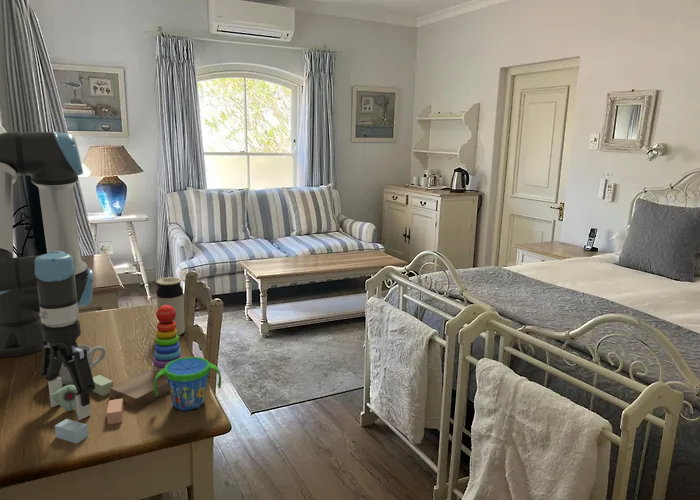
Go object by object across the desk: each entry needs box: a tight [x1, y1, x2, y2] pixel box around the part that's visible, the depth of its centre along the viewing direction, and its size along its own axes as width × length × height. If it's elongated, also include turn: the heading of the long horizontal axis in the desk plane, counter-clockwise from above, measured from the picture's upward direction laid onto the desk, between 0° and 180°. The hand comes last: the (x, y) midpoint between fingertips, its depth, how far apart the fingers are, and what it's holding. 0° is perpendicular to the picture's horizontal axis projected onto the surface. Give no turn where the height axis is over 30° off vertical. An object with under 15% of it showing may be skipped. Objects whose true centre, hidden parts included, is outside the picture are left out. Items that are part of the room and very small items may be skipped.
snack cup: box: [154, 356, 222, 411], centre depth 124 cm, size 16×10×10 cm
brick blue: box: [54, 418, 89, 445], centre depth 110 cm, size 6×3×3 cm, turn 69°
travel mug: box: [156, 276, 186, 337], centre depth 166 cm, size 8×8×18 cm
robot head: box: [49, 384, 77, 412], centre depth 120 cm, size 8×4×7 cm, turn 123°
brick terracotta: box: [106, 398, 125, 425], centre depth 118 cm, size 6×3×3 cm, turn 20°
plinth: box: [109, 369, 170, 409], centre depth 130 cm, size 10×12×2 cm
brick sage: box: [92, 374, 114, 397], centre depth 130 cm, size 6×3×3 cm, turn 56°
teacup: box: [57, 344, 107, 386], centre depth 136 cm, size 14×11×8 cm
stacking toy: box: [152, 305, 183, 372], centre depth 140 cm, size 8×8×19 cm
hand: (70, 410), depth 120 cm, fingers open, 10 cm apart
